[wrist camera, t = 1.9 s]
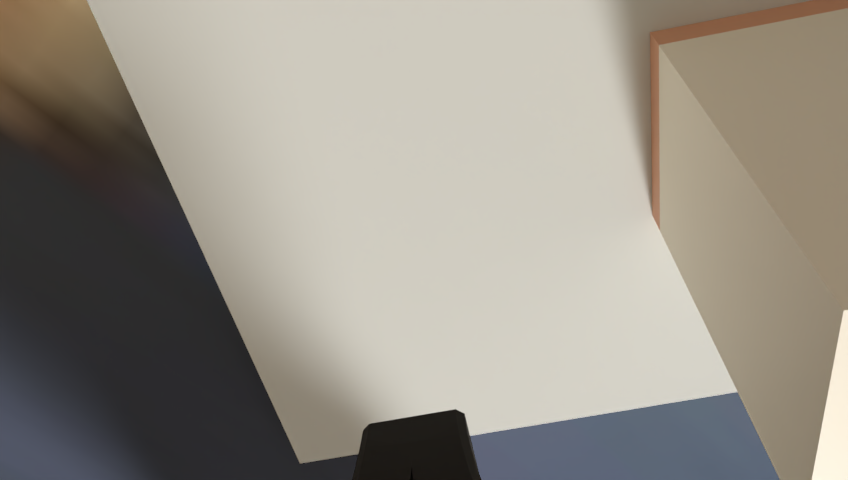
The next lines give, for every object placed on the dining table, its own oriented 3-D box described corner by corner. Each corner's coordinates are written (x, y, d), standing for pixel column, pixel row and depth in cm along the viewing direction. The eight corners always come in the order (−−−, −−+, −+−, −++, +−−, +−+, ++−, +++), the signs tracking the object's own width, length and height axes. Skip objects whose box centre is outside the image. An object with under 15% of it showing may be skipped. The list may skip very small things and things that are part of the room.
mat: (1149, 306, 22) (1167, 321, 21) (301, 446, 24) (300, 463, 23) (1630, -639, 11) (1689, -651, 10) (-13, -253, 13) (-29, -249, 12)
